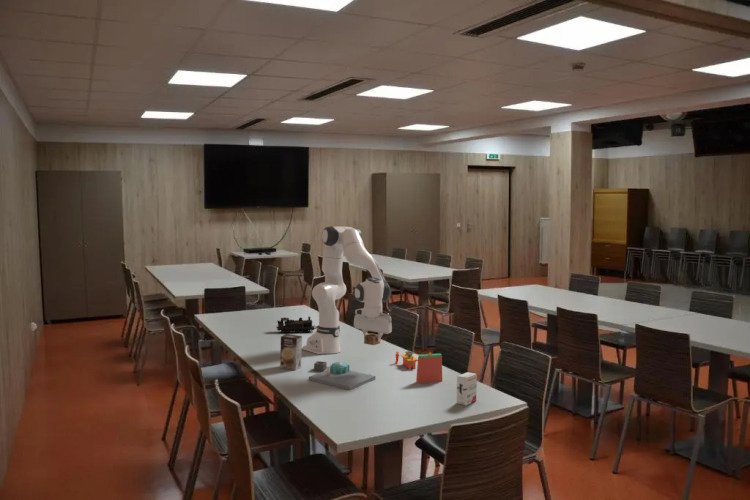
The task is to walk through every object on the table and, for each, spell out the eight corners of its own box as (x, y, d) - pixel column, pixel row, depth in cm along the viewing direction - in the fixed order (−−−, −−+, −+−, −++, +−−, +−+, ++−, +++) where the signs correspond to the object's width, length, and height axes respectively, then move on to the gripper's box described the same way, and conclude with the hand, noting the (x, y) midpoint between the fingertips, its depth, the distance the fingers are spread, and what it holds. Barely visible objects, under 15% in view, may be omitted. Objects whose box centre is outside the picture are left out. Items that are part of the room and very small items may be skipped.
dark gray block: (314, 370, 288) (314, 363, 288) (317, 368, 293) (317, 361, 292) (323, 371, 287) (323, 364, 286) (326, 369, 291) (326, 362, 291)
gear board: (308, 379, 273) (308, 368, 273) (335, 370, 290) (335, 359, 289) (350, 389, 260) (350, 377, 259) (375, 379, 277) (375, 367, 276)
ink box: (466, 398, 252) (467, 371, 251) (476, 401, 249) (477, 373, 248) (455, 403, 246) (456, 375, 245) (465, 406, 243) (467, 377, 242)
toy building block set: (417, 383, 272) (418, 353, 271) (392, 363, 305) (392, 336, 304) (442, 381, 276) (443, 351, 275) (414, 362, 309) (415, 335, 308)
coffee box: (279, 368, 291) (279, 336, 290) (285, 365, 297) (285, 333, 296) (296, 370, 288) (296, 338, 287) (301, 367, 294) (302, 335, 293)
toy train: (316, 333, 371) (316, 317, 370) (276, 334, 366) (276, 318, 365) (315, 330, 378) (315, 315, 378) (276, 331, 373) (276, 316, 373)
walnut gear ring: (363, 343, 282) (363, 335, 282) (371, 341, 288) (371, 333, 288) (372, 345, 279) (373, 337, 279) (381, 342, 285) (381, 334, 285)
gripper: (395, 313, 279) (394, 342, 280) (359, 308, 290) (359, 335, 292) (387, 315, 274) (386, 344, 275) (352, 310, 285) (351, 338, 286)
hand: (372, 340), depth 283 cm, fingers closed on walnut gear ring, 6 cm apart
